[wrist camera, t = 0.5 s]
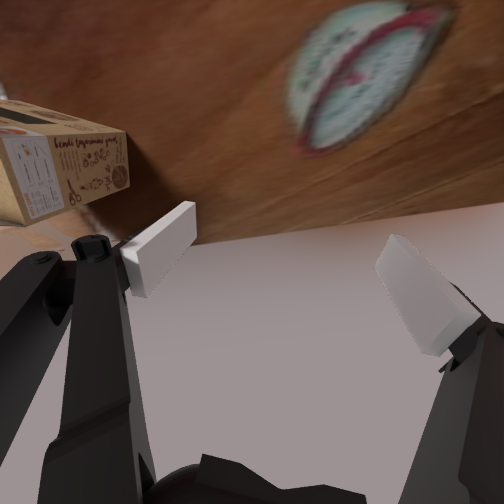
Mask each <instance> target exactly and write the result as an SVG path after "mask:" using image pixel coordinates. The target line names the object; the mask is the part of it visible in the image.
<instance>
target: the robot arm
mask: <svg viewBox="0 0 504 504" xmlns="http://www.w3.org/2000/svg"><path fill="white" fill-rule="evenodd" d="M196 238H197V231H196V206H195V202H189V201H184V202H183V203H181V204H180V205H178V206H177V207H176V208H174V209H173V210H172V211H170V212H169V213H168V214H166V215H165V216H163V217H162V218H161V219H159V220H158V221H157V222H155V223H154V224H153V225H151V226H150V227H148V228H147V229H146V228H143V229H141V230H138V231H135V232H134V233H132V234H131V235H130V236H129V237H127V238H125V239H124V240H122V241H121V242H120V243H118V244H117V245H115V246H114V247H112V248H111V244H110V241H109V238H108V237H107V236H104V235H98V234H96V235H87V236H83V237H80V238H78V239H76V240H75V241H73V242H72V243H71V247H72V249H73V252H74V254H75V256H76V259H77V261H63V260H62V258H61V256H60V254H59V253H58V252H55V251H43V252H37V253H33V254H31V255H29V256H26V257H24V258H23V259H21V260H20V261H19V262H18V263H17V264H16V265H15V266H14V267H13V268H12V269H11V270H10V271H9V272H8V273H7V274H6V275H5V276H4V277H3V278H2V279H1V280H0V466H1V464H2V462H3V460H4V458H5V456H6V454H7V452H8V450H9V448H10V446H11V443H12V441H13V439H14V437H15V435H16V433H17V431H18V429H19V427H20V425H21V422H22V420H23V418H24V416H25V414H26V412H27V410H28V408H29V406H30V404H31V402H32V400H33V397H34V395H35V393H36V391H37V389H38V387H39V385H40V383H41V381H42V379H43V376H44V374H45V372H46V370H47V368H48V366H49V364H50V362H51V360H52V358H53V356H54V354H55V351H56V349H57V347H58V345H59V343H60V341H61V339H62V337H63V335H64V333H65V330H66V328H67V326H68V324H69V322H70V320H71V328H70V338H69V347H68V357H67V366H66V375H65V385H64V395H63V404H62V414H61V423H60V430H59V434H58V436H57V438H56V439H55V440H54V441H53V442H51V443H50V444H49V446H48V449H47V451H46V453H45V457H44V461H43V466H42V473H41V480H40V488H39V494H38V501H37V504H367V502H366V497H365V495H363V494H359V493H355V492H351V491H347V490H343V489H339V488H336V487H332V486H328V485H316V486H308V487H300V488H293V489H285V490H284V489H279V488H277V487H276V486H274V485H273V484H271V483H270V482H268V481H267V480H265V479H264V478H262V477H261V476H259V475H257V474H256V473H255V472H253V471H251V470H250V469H248V468H247V467H245V466H244V465H242V464H241V463H238V462H234V461H230V460H226V459H222V458H218V457H214V456H210V455H206V454H202V458H201V461H200V464H193V465H189V466H185V467H182V468H180V469H178V470H176V471H174V472H172V473H170V474H168V475H167V476H165V477H164V478H162V479H161V480H159V481H158V482H157V481H156V475H155V469H154V464H153V459H152V455H151V450H150V446H149V441H148V435H147V430H146V423H145V417H144V410H143V404H142V397H141V391H140V384H139V378H138V372H137V365H136V359H135V352H134V347H133V340H132V334H131V327H130V321H129V314H128V308H127V301H126V296H125V291H126V290H127V289H128V288H129V287H130V289H131V293H132V295H133V296H138V297H143V298H147V297H148V296H149V295H150V293H151V292H152V291H153V290H154V288H155V287H156V286H157V285H158V284H159V283H160V281H161V280H162V279H163V278H164V276H165V275H166V274H167V273H168V271H169V270H170V269H171V268H172V267H173V266H174V264H175V263H176V262H177V261H178V260H179V258H180V257H181V256H182V255H183V253H184V252H185V251H186V250H187V249H188V247H189V246H190V245H191V244H192V243H193V241H194V240H195V239H196ZM374 269H375V271H376V273H377V275H378V276H379V278H380V280H381V282H382V283H383V286H384V287H385V289H386V291H387V293H388V294H389V296H390V298H391V300H392V301H393V303H394V305H395V307H396V308H397V310H398V312H399V314H400V316H401V317H402V319H403V321H404V323H405V325H406V326H407V328H408V330H409V331H410V333H411V335H412V337H413V339H414V340H415V342H416V344H417V346H418V347H419V349H420V351H421V353H423V354H428V355H433V356H438V357H440V356H441V355H442V354H443V353H444V352H445V351H446V350H447V349H449V350H450V351H451V353H452V354H453V357H452V358H451V359H450V360H449V361H448V362H447V363H446V364H445V365H444V366H443V367H442V368H441V369H440V370H439V372H440V373H441V372H443V371H445V372H444V375H443V378H442V381H441V383H440V387H439V389H438V392H437V395H436V398H435V401H434V403H433V406H432V409H431V412H430V415H429V418H428V421H427V423H426V426H425V429H424V432H423V435H422V438H421V441H420V443H419V446H418V449H417V452H416V455H415V458H414V461H413V463H412V466H411V469H410V472H409V475H408V478H407V480H406V483H405V486H404V489H403V492H402V495H401V497H400V500H399V502H398V504H504V324H502V323H498V322H492V321H491V320H490V319H489V318H488V317H487V316H486V315H485V314H484V313H483V312H482V311H481V310H480V309H479V308H478V307H477V306H476V305H475V304H474V303H473V302H471V300H470V299H469V298H468V297H467V296H465V294H464V293H463V292H462V291H461V290H460V289H459V288H458V287H457V286H455V285H453V284H452V283H451V282H449V281H448V280H447V279H446V278H445V277H444V276H443V275H442V274H441V273H440V272H439V271H438V270H437V269H436V268H435V267H434V266H433V265H432V264H431V263H430V262H429V261H428V260H427V259H426V258H425V257H424V256H423V255H422V254H421V253H420V252H419V251H418V250H417V249H416V248H415V247H414V246H413V245H412V244H411V243H410V242H409V241H408V240H407V239H406V238H405V237H404V236H402V235H396V234H391V235H390V237H389V239H388V241H387V243H386V245H385V247H384V249H383V251H382V253H381V255H380V256H379V258H378V261H377V262H376V264H375V266H374Z"/></svg>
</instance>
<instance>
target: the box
mask: <svg viewBox="0 0 504 504" xmlns="http://www.w3.org/2000/svg"><path fill="white" fill-rule="evenodd" d="M128 187H130V180H129V167H128V154H127V140H126V132H125V131H121V130H118V129H114V128H111V127H108V126H104V125H101V124H97V123H94V122H90V121H87V120H83V119H80V118H77V117H73V116H70V115H66V114H63V113H59V112H56V111H52V110H49V109H46V108H42V107H39V106H35V105H32V104H28V103H25V102H21V101H13V100H1V99H0V226H15V227H27V226H30V225H32V224H35V223H37V222H40V221H43V220H45V219H48V218H50V217H53V216H55V215H58V214H61V213H63V212H66V211H68V210H71V209H73V208H76V207H79V206H81V205H84V204H86V203H89V202H92V201H94V200H97V199H99V198H102V197H104V196H107V195H110V194H112V193H115V192H117V191H120V190H123V189H125V188H128Z"/></svg>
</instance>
